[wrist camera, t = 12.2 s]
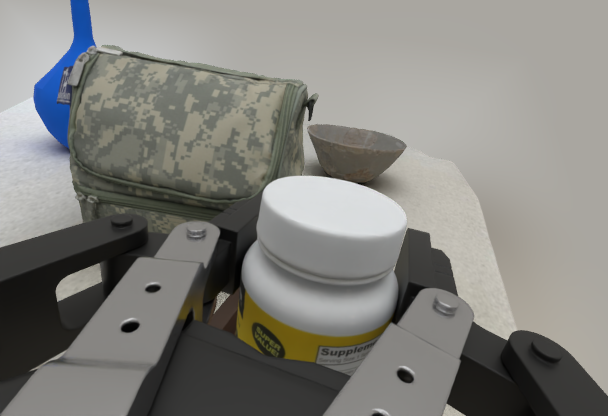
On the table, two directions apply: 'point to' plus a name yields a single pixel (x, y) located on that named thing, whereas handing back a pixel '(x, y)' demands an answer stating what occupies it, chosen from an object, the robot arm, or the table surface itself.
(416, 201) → the table surface
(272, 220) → the supplement bottle
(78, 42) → the vase
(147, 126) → the lunch bag
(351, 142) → the ceramic bowl
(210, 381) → the robot arm
